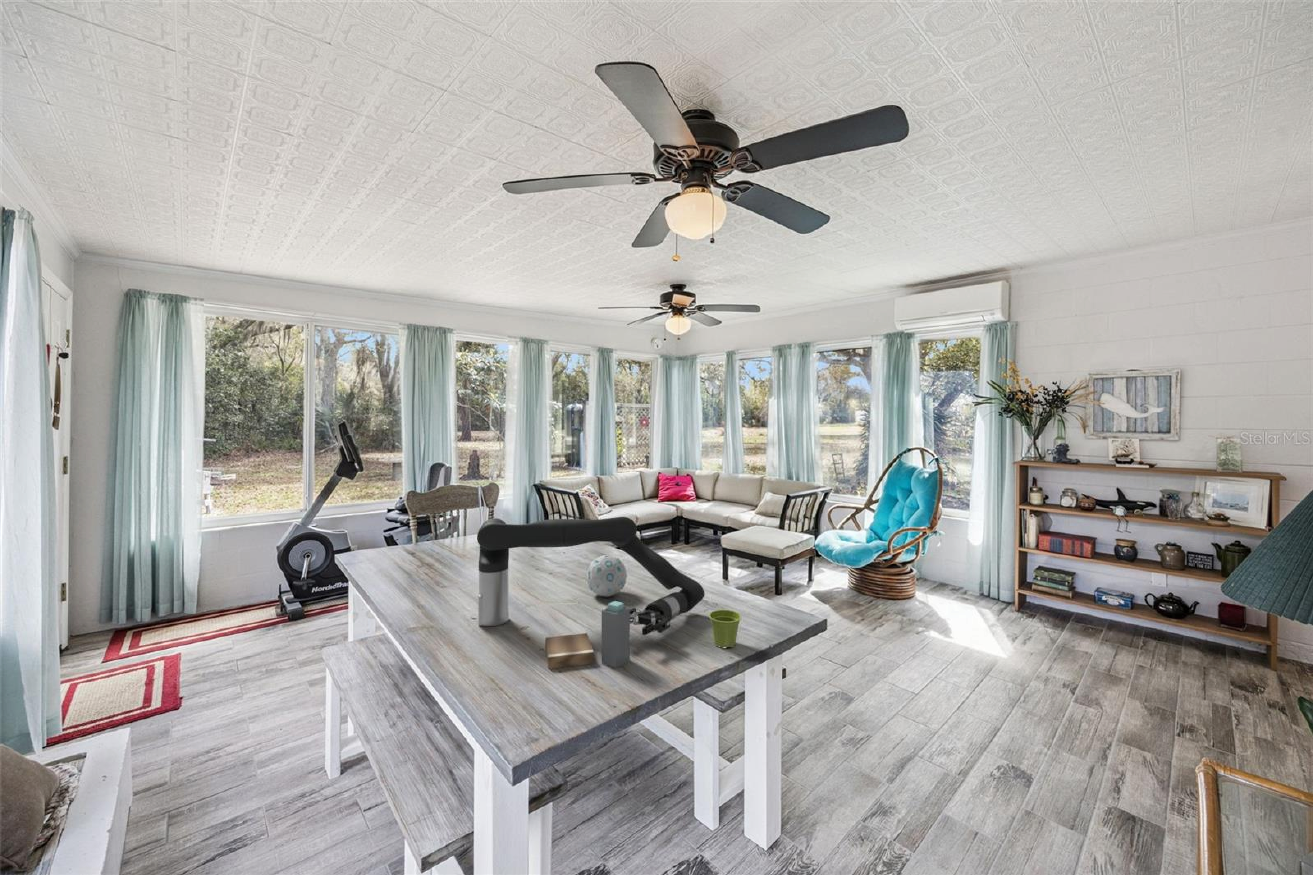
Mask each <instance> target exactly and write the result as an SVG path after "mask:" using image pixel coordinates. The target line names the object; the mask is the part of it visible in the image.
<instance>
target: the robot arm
mask: <svg viewBox="0 0 1313 875" xmlns="http://www.w3.org/2000/svg"><path fill="white" fill-rule="evenodd" d="M637 531H638V528H637V525H636V522H635V521H634V520H633V519H631V518H629V517H627V516H618V517H617V516H616V517H611V518H610V517H608V518H600V519H585V518H582V519H581V518H552V519H544V520H540V521H539V520H538V521H534V522H530V523H525V524H511V523H510V524H508V523H507V522H505V521H504V520H502V519H501V518H498V517H497V518H496V517H493V518H490V519H487V520H486V521H484V522H483V523H482V524H481V526H480V528H479V529H478V532H477V535H476V539H477V543H478V546H479V558H478V599H477V600H478V602H477V604H478V610H477V611H478V626H485V627H496V626H500V625H503V624H505V623H508V621H509V619H510V616H509V610H510V609H509V607H510V606H509V605H510V604H509V603H510V602H509V599H510V598H509V561H510V560H509V557H510V549H517V548H568V547H575V546H580V545H585V544H589V543H599V542H600V543H601V542H603V543H604V542H605V543H611V544H613V545H614V546H616V547H617V548H618V549H620V550H622V551H623V552H625V553H626V554H628V555H629V556H630V557H631V558H632V559H634V560H635V561H636V562H637V563H638V564H640V566H642V567H643V568H644V569H645V570H646V571H647V572H648V573H649V574H650V575H651V576H652V577H653V578H655V580H656V581H658V582H659V583H660V584H661V586H663V587H664V588H665V589H667V590H672V589H674V588H677V587H678V588H680V590H678V591H675V592H672V593H669V594H668V595H665V596H662V597H660V598H658V599H656V600H654V601H652V602H649V603H648V604H646V607H645V609H643V610H641V611H637V608H636V607H633V608H630V625H631V624H633V626H637V625H638V626H640V625H642V628H641V634H642V635H643V636H646V635H649V634H650V633H655V632H656V631H657V633H663V632H664V631H666V630H667V629H669V628H670V627H671V621H673V620H675V618H677V617H679V616H680V615H682V614H686V613H688V612H690V611H691V610H693V608H695V607H696V606H697V605H698V604H699V603H700V602H701V601H702V600H704V598H705V590H704V587H703V586H702V585H701V584H700V582H698V581H697V580H695V579H692V578H691V577H689V576H687V575H685V574H684V573H682V572H680V571H679V570H678V569H677V568H676V567H674V565H672V563H670V561H668V560H667V559H666V558H665V557H663V556H662V555H660V554H659V553H657V552H655V551H654V550H653V549H651V548H650V547H649V546H647V545H646V544H645V543H644V542H643V541H642V540H641V539H640V537H639V536H638V535H637Z"/></svg>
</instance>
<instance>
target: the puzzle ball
mask: <svg viewBox="0 0 1313 875" xmlns="http://www.w3.org/2000/svg"><path fill="white" fill-rule="evenodd" d="M586 570H587V571H586V582H587V585H588V587H589V590H591V591H592V592H593V594H595V595H598V596H599V597H605V598H608V597H609V598H610V597H611V596H615V595H617V594H618V593H619V592H621V591H622V590H623V589H624V587H625V585H626V583H627V577H628V575H627V574H628V573H627V570H626V565H625V564H624V563H623V562H622V561H621V560H620V559H619V558H618V557H616V556H614V555H609V554H608V555H607V554H605V555H604V554H603V555H601V556H598V557H596V558H595V559H593V560H592V561H591V563H589V566H587V569H586Z"/></svg>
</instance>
